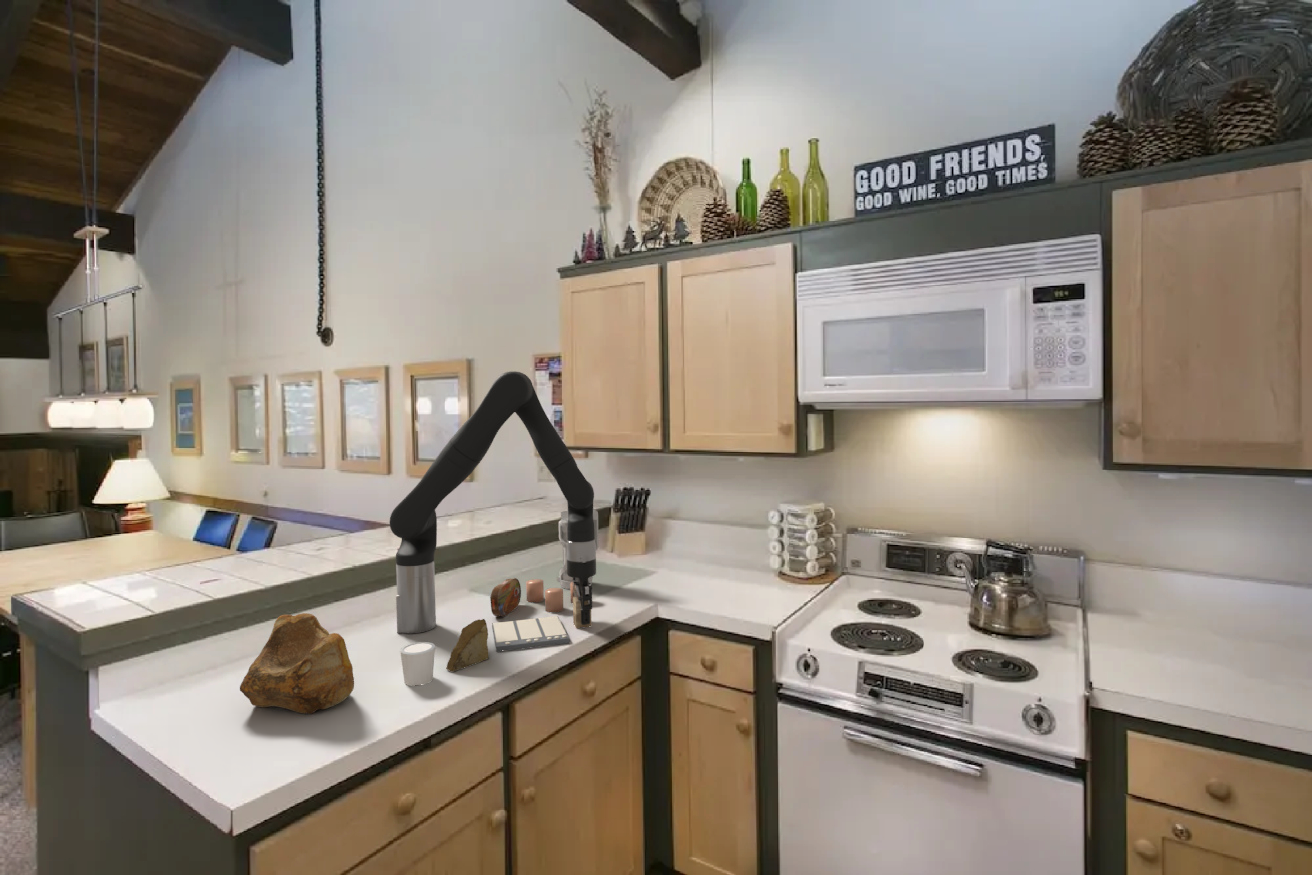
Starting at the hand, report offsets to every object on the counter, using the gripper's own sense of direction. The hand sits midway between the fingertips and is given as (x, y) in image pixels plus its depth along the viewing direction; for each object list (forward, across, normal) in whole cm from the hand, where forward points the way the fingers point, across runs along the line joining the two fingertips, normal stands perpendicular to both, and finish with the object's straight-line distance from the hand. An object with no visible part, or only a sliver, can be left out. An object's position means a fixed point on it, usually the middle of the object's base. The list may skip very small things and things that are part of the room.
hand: (582, 619), depth 166 cm
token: (+2, 0, 0) cm, 2 cm away
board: (+2, +3, -14) cm, 14 cm away
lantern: (+2, -36, +6) cm, 37 cm away
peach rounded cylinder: (+2, -26, -9) cm, 28 cm away
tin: (+2, -18, -18) cm, 26 cm away
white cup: (+2, +22, -39) cm, 45 cm away
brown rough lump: (+2, +24, -62) cm, 67 cm away
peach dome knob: (+2, -15, -5) cm, 16 cm away
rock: (+2, +16, -29) cm, 33 cm away
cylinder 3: (+2, -20, +3) cm, 20 cm away
